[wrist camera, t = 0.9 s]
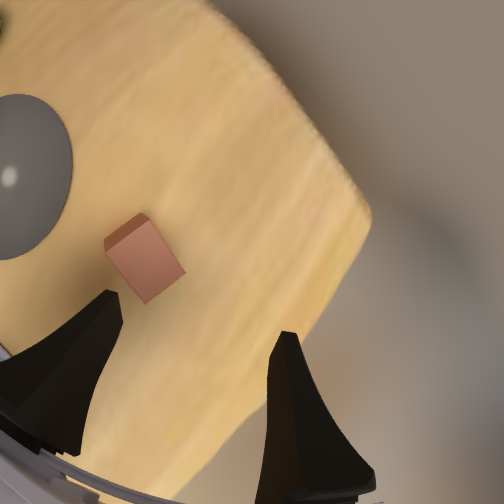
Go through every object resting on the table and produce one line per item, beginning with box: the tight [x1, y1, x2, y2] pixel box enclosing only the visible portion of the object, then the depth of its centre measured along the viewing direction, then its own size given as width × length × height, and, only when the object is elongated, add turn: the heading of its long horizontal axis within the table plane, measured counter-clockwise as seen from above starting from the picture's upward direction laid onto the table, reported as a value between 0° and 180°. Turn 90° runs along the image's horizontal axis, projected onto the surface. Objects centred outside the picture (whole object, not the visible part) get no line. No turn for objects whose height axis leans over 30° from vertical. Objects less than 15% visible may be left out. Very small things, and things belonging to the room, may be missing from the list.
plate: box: [0, 94, 72, 260], centre depth 15 cm, size 14×14×1 cm
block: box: [104, 213, 186, 304], centre depth 21 cm, size 4×5×5 cm
